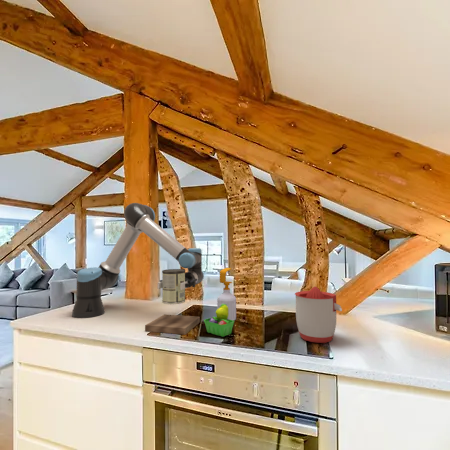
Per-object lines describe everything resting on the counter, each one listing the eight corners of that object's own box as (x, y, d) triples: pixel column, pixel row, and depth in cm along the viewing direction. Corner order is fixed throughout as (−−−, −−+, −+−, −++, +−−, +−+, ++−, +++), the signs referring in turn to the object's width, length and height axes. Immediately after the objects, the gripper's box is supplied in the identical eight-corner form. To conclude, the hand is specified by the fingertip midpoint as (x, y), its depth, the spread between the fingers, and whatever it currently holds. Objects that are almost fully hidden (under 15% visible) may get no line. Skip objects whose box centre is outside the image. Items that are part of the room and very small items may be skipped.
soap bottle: (239, 319, 136) (239, 268, 138) (226, 323, 130) (226, 269, 132) (227, 315, 143) (227, 266, 144) (213, 319, 137) (213, 268, 138)
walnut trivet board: (144, 331, 118) (145, 325, 119) (164, 319, 136) (164, 314, 136) (185, 334, 114) (185, 328, 114) (199, 322, 132) (199, 316, 132)
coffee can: (165, 299, 132) (166, 268, 133) (187, 299, 131) (187, 268, 132) (158, 304, 122) (158, 271, 122) (182, 304, 121) (182, 271, 121)
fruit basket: (202, 332, 117) (202, 304, 118) (217, 327, 124) (217, 301, 124) (223, 338, 110) (222, 309, 110) (237, 333, 116) (237, 305, 117)
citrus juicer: (339, 349, 98) (338, 291, 99) (290, 341, 107) (289, 287, 108) (345, 336, 112) (343, 285, 113) (301, 329, 120) (300, 282, 121)
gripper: (209, 287, 141) (194, 296, 120) (167, 286, 147) (146, 293, 125) (209, 272, 142) (194, 278, 120) (168, 271, 147) (146, 276, 125)
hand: (169, 286), depth 122 cm, fingers closed on coffee can, 10 cm apart
